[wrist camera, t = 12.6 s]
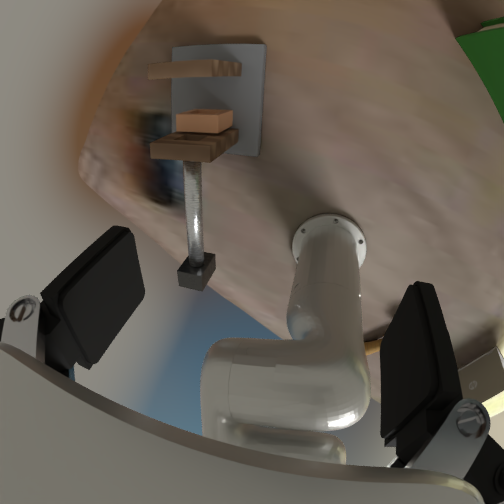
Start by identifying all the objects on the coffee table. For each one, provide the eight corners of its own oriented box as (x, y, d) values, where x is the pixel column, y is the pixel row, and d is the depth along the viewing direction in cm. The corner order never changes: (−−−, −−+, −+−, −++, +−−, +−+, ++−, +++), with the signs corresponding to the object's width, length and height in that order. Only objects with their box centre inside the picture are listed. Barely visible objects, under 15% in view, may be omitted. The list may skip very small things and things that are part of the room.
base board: (259, 154, 44) (257, 156, 42) (176, 147, 46) (172, 149, 45) (266, 45, 34) (264, 44, 33) (176, 47, 36) (172, 47, 35)
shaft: (215, 268, 50) (202, 291, 45) (193, 264, 51) (179, 285, 46) (214, 147, 39) (196, 159, 34) (188, 145, 39) (167, 157, 34)
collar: (232, 125, 41) (218, 133, 36) (194, 123, 42) (176, 131, 37) (232, 110, 39) (218, 115, 34) (194, 108, 40) (176, 114, 35)
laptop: (456, 392, 63) (461, 430, 53) (439, 378, 61) (445, 420, 51) (506, 362, 53) (517, 401, 43) (495, 344, 51) (508, 386, 41)
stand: (238, 141, 42) (210, 162, 33) (189, 138, 43) (150, 158, 34) (241, 63, 35) (212, 59, 26) (189, 64, 36) (148, 64, 27)
